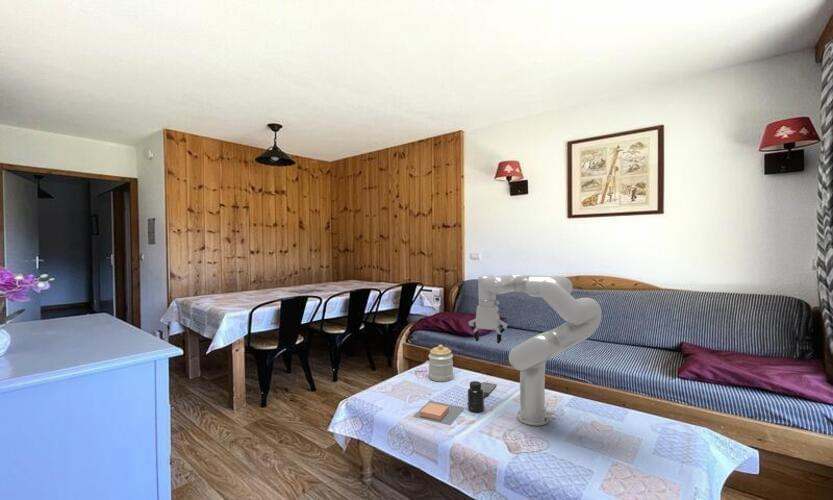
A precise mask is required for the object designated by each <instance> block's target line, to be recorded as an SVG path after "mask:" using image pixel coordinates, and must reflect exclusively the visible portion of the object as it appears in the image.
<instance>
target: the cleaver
mask: <svg viewBox="0 0 833 500" xmlns="http://www.w3.org/2000/svg"><path fill="white" fill-rule="evenodd" d="M480 383H481V389H482V390H483V392H484V400H485V399H487V398H488V397H489V395H490V394H491V393H492V392H493V391H494V390H495V389H496V387H497V386H498V385H497V383H492V382H487V381H482V382H480ZM466 405H468V401H467V403H466Z"/></svg>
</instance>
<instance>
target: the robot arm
mask: <svg viewBox="0 0 833 500" xmlns="http://www.w3.org/2000/svg"><path fill="white" fill-rule="evenodd" d="M477 283H478V291H477V292H478V305H477V306H476V311H475V313H476V314H475V318H474V319H471V320H470V321H468V325H469V328H470V329H471V330H472V331H473V333H474V340H475V342H479V340H480V331H479V330H491V331H495V332H496V333H497V335H496V343H497V344H500V343H501V342H502V334H503V333H504V331H506V329H507V327H508V323H506V322H504V321H503V320H501V319H500V311H499V307H498V305H500V301H499V300H497V299H496V298H497V297H496V296H497V295H502V294H506V293H507V294H508V293H526V294H527V295H528V296H530V297H533V298H542V299H543V300H544V301H545V302H546V303H547V304H548V306H550V308H552V309H553V310H554V312H555V313H557V314H558V315H559V317H561V319H563V320H564V321H565V322H564V323H562V324H560V325H559V326H557V327H555V328H553V329H550V330H547V331H544V332H542V333H539V334H536V335H534V336H532V337H530V338H529V339H527V340H525V341H523V342H521V343H519V344H518V345H515V346H513V347H512V348H511V349H510V351H509V354H508V361H509V364H510V365H511V367H512V368H513V369H515V370H517V371H520V373H519V390H520V391H519V396H520V397H519V401H520V403H519V405H520V408H519V409H520V410H518V411H517V412H516V419H517V420H518V421H519V422H520V423H522V424H525V425H528V426H534V427H535V426H538V427H539V426H544V425H547V424H548V423H549V422H550V420H554V421H556V420H557V414H555V412H553V411H548V410H547V406H545V405H546V404H545V403H546V402H545V399H546V398H545V392H546V390H545V387H546V386H545V381H546V379H545V378H546V376H545V375H546V363H547V361H548V360H549V361H550V360H551V359H552V358H555V357H557V356H559V355H560V354H561V353H562V352H564V351H566V350H568V349H569V348H572V347H575V345H578V344H579V343H582V342H583V341H585V340H587V339H588V338H589V337H591V336H592V335H593V334H595V332H596V331H597V329H598V328H599V326H600V324H601V321H602V309H601V305H600V303H599V302H597V301H596V299H594V298H592V297H580V298H577V299H576V298H575V297H574V296H573V295H571V294H572V291H573V288H574V287H573V283H572V281H571V280H570V279H569V278H568V277H566V276H563V275H562V276H561V275H531V274H528V275H526V274H505V275H499V276H494V275H488V274H487V275H486V274H484V275H479V276H478V279H477ZM474 323H475V325H474ZM501 326H502V328H500V327H501Z"/></svg>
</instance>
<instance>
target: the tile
mask: <svg viewBox="0 0 833 500" xmlns="http://www.w3.org/2000/svg"><path fill="white" fill-rule="evenodd" d="M425 405H426V404H425ZM425 405H424V406H425ZM448 412H449V407H448V406H443V405H438V404H433V403H429V404H428V405H426V406H425V407H424V408H423V409H422V410H421V411H420V416H422V417H426V418H430V419H435V420H439V421H440V420H441V419H442V418H443V417H444V416H445V415H446V414H447V413H448Z"/></svg>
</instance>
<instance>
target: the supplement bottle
mask: <svg viewBox="0 0 833 500" xmlns="http://www.w3.org/2000/svg"><path fill="white" fill-rule="evenodd" d="M481 383H482V382H480V381H477V380H473V381H472V380H471V381H470V382H469V388H468V389H467V402H468V404H467V410H468V411H469V412H470V413H473V414H479V413H483V412H484V411H485V399H484V392H483V390H482V389H481Z"/></svg>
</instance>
